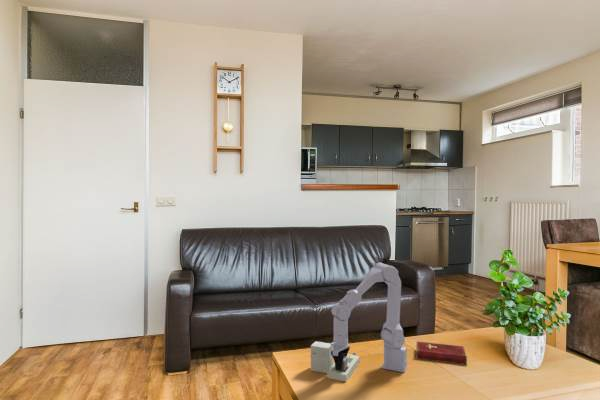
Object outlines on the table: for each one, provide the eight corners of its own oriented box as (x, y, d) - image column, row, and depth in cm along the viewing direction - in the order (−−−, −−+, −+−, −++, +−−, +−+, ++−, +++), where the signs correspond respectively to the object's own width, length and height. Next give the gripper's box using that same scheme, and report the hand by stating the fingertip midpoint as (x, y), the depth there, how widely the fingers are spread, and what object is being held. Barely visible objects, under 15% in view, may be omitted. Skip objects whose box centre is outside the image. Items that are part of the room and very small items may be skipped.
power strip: (363, 356, 173) (363, 350, 173) (346, 381, 149) (346, 374, 149) (346, 353, 176) (346, 347, 176) (327, 377, 152) (327, 371, 152)
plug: (347, 371, 156) (347, 356, 156) (344, 375, 152) (344, 359, 152) (338, 369, 158) (338, 354, 158) (334, 373, 154) (335, 358, 154)
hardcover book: (467, 365, 165) (467, 355, 165) (416, 359, 171) (416, 349, 171) (464, 354, 176) (464, 345, 176) (416, 349, 183) (416, 340, 183)
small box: (333, 368, 160) (333, 343, 160) (328, 374, 155) (328, 348, 155) (315, 365, 164) (315, 340, 164) (310, 370, 159) (310, 345, 159)
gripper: (336, 326, 163) (336, 358, 163) (325, 338, 150) (325, 372, 150) (352, 329, 160) (352, 361, 160) (342, 340, 147) (342, 375, 147)
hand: (340, 367), depth 155 cm, fingers closed on plug, 4 cm apart
